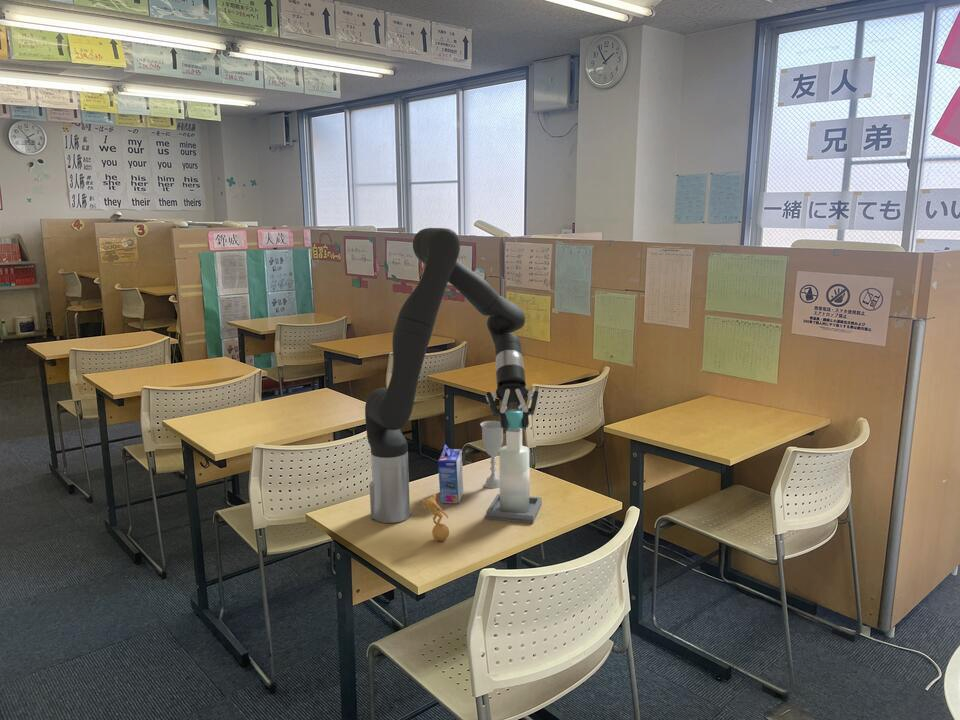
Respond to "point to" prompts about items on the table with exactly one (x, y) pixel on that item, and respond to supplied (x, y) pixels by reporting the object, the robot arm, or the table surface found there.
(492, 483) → the chalice
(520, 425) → the pump plunger
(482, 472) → the table surface
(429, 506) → the figurine
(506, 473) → the pump bottle
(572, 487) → the table surface
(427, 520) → the table surface
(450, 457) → the ink cartridge box
